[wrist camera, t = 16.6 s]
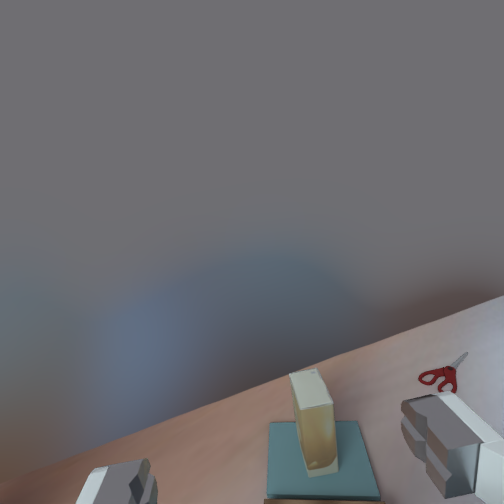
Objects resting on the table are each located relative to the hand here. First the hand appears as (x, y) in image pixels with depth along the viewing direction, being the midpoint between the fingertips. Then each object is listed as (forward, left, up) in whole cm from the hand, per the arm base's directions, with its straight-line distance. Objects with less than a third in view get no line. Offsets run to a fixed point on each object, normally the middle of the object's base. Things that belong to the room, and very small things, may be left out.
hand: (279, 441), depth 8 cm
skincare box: (+1, +22, -31) cm, 38 cm away
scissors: (+28, +37, -33) cm, 57 cm away
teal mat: (+1, +22, -32) cm, 39 cm away
